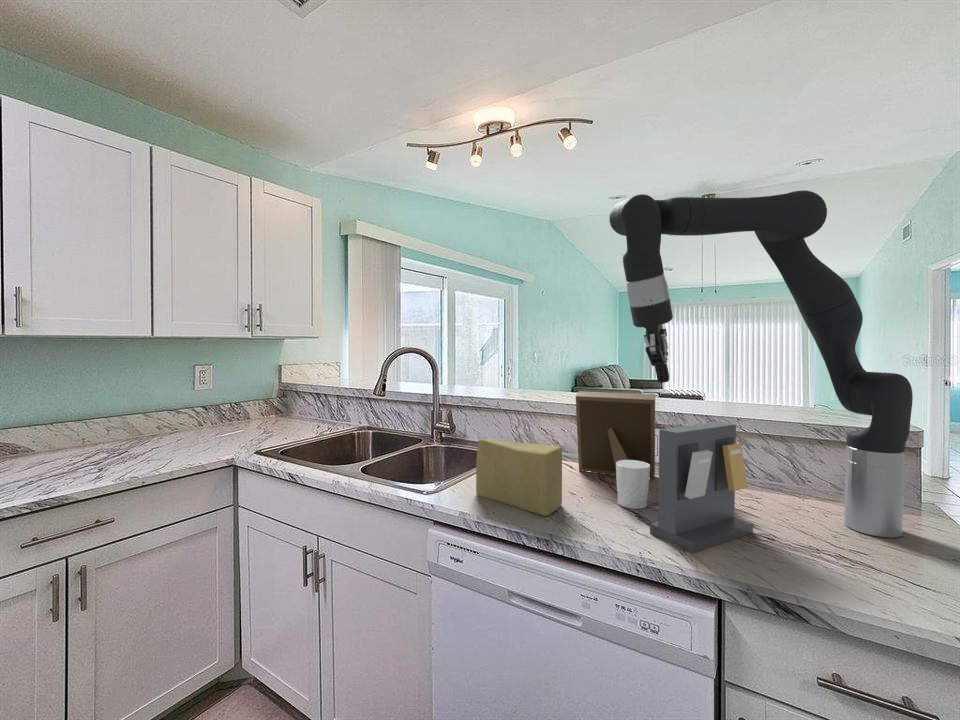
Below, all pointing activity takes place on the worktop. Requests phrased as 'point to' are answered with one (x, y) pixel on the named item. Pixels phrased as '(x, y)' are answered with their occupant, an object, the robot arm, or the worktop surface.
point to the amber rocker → (734, 466)
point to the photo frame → (615, 430)
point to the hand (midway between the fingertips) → (663, 380)
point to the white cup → (632, 483)
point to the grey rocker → (698, 474)
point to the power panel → (701, 516)
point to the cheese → (520, 474)
